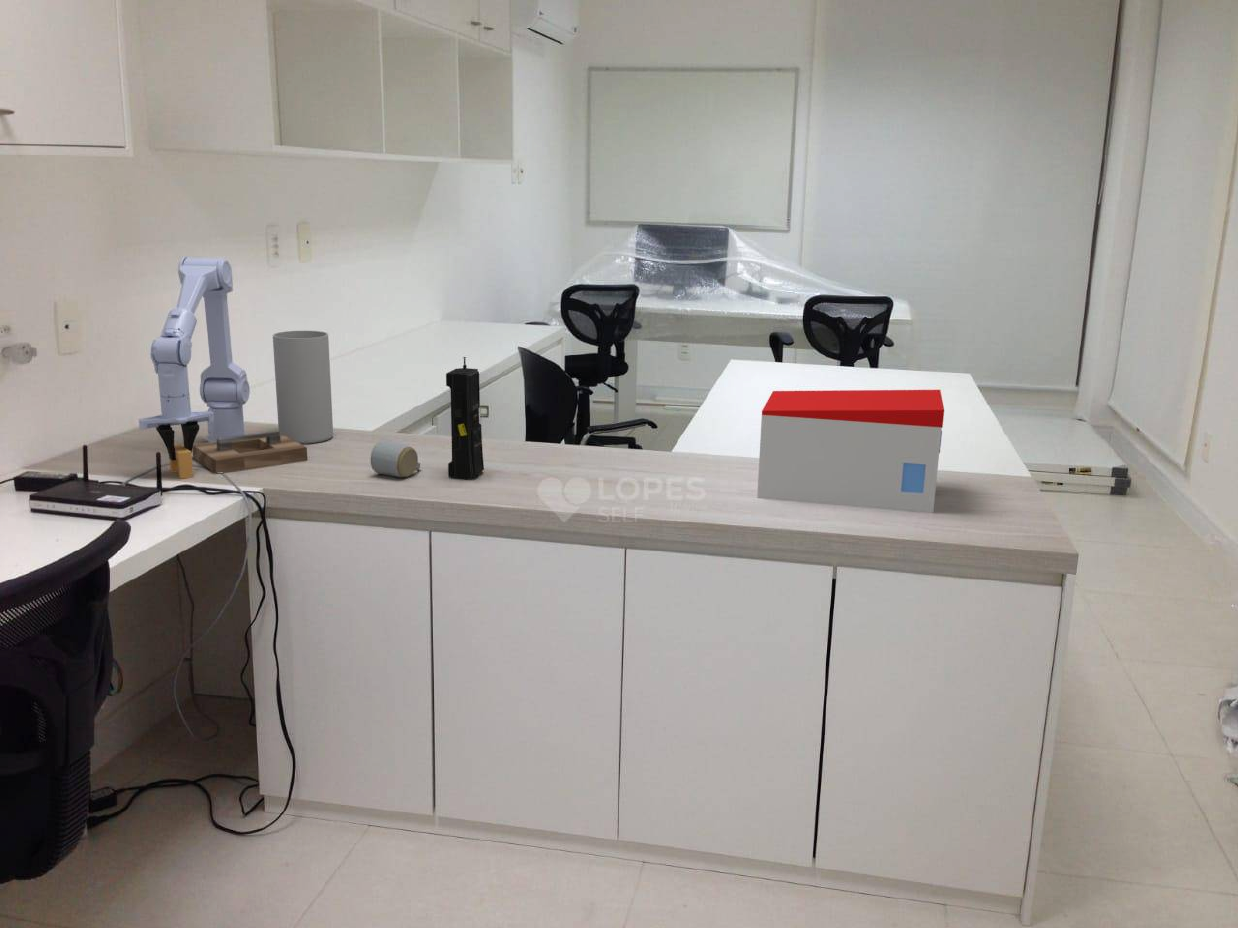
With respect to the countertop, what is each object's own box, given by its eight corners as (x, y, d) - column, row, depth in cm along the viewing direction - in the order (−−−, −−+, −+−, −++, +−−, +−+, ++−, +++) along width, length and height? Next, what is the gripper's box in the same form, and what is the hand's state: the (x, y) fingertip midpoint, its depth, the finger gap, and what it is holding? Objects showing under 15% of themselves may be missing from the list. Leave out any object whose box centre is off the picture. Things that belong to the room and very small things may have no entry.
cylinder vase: (268, 441, 260) (261, 336, 253) (302, 430, 271) (296, 329, 264) (311, 447, 255) (305, 340, 249) (343, 435, 266) (339, 333, 260)
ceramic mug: (399, 482, 229) (399, 447, 227) (370, 476, 233) (369, 442, 231) (429, 471, 238) (429, 438, 236) (400, 466, 241) (399, 433, 240)
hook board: (193, 457, 244) (190, 433, 243) (280, 445, 256) (279, 422, 255) (216, 474, 232) (214, 448, 231) (307, 460, 244) (306, 436, 242)
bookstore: (935, 513, 215) (945, 410, 210) (757, 498, 223) (762, 397, 218) (932, 485, 235) (941, 389, 229) (768, 471, 243) (773, 379, 237)
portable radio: (473, 481, 230) (471, 364, 224) (446, 479, 231) (443, 362, 225) (485, 471, 238) (483, 357, 231) (458, 469, 239) (456, 356, 232)
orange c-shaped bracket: (170, 470, 234) (168, 445, 232) (182, 469, 235) (180, 444, 234) (180, 479, 228) (178, 453, 226) (193, 477, 229) (191, 451, 228)
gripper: (143, 402, 220) (149, 467, 223) (216, 394, 228) (221, 457, 232) (133, 396, 225) (140, 460, 229) (205, 388, 234) (210, 450, 237)
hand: (180, 458), depth 231 cm, fingers closed on orange c-shaped bracket, 2 cm apart
